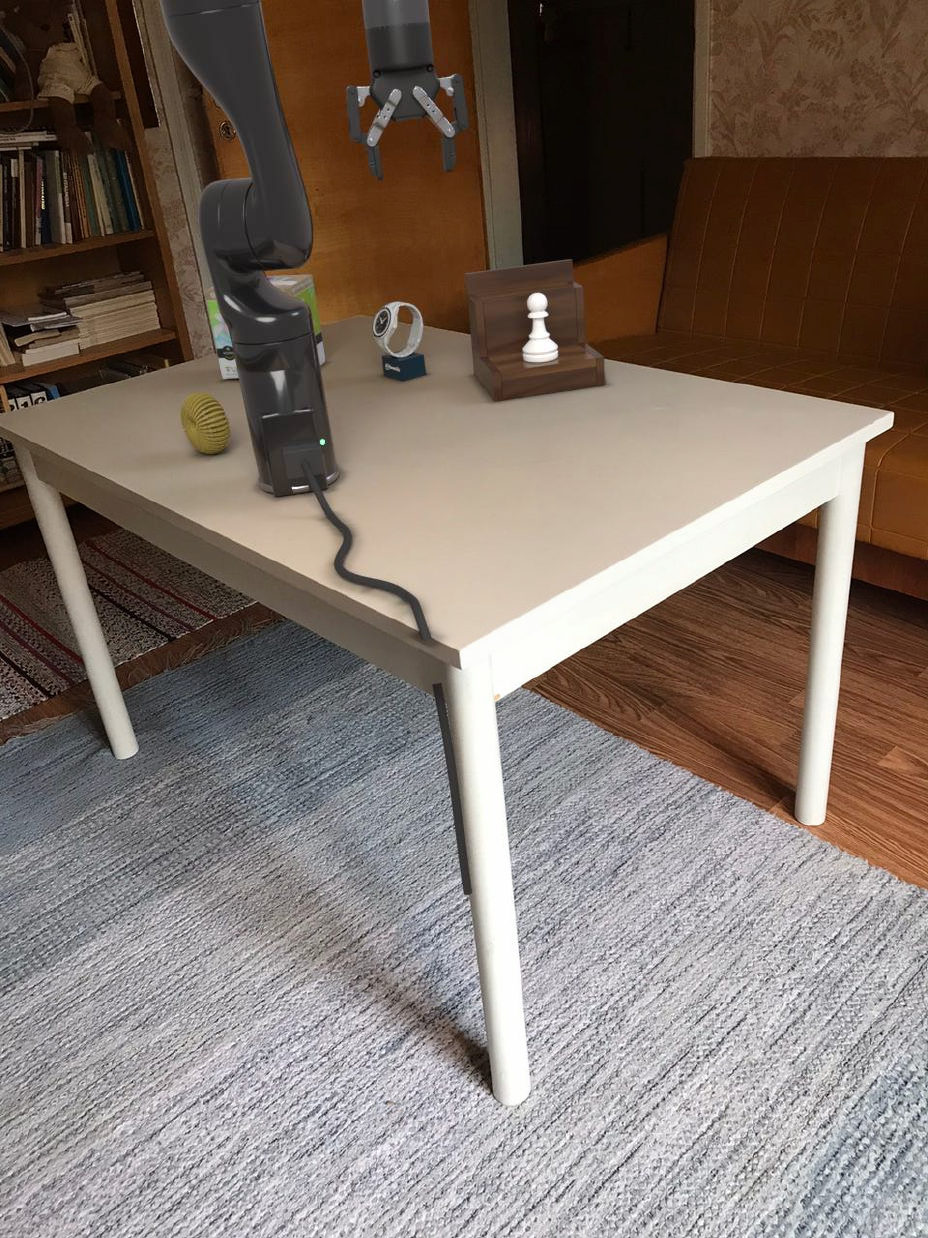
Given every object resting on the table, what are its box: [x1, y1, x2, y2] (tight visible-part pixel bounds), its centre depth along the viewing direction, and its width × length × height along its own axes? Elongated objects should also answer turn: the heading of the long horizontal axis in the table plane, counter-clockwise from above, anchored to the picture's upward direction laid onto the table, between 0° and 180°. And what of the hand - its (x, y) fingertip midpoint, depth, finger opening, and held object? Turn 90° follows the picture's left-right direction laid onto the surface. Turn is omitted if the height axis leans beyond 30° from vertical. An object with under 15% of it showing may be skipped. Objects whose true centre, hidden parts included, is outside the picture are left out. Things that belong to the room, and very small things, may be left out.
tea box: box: [204, 273, 326, 380], centre depth 164 cm, size 15×10×15 cm, turn 76°
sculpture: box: [180, 392, 231, 455], centre depth 130 cm, size 8×4×8 cm, turn 44°
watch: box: [371, 301, 427, 382], centre depth 155 cm, size 6×8×11 cm
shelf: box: [464, 258, 606, 402], centre depth 144 cm, size 15×16×15 cm
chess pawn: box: [522, 293, 558, 363], centre depth 141 cm, size 5×5×9 cm
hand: (414, 175), depth 123 cm, fingers open, 8 cm apart
